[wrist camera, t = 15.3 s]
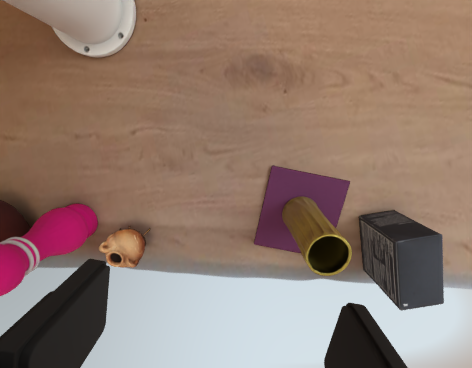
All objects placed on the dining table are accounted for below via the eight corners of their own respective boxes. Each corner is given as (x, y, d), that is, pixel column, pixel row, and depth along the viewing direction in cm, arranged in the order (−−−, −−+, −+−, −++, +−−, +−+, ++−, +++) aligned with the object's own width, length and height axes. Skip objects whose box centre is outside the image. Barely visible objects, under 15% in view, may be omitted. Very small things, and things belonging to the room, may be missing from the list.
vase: (280, 230, 43) (299, 279, 29) (283, 195, 42) (303, 229, 28) (316, 231, 43) (352, 280, 29) (320, 196, 42) (359, 231, 28)
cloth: (271, 165, 41) (272, 165, 41) (349, 181, 42) (350, 181, 41) (253, 243, 44) (254, 244, 44) (326, 257, 45) (326, 258, 44)
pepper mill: (68, 243, 45) (-65, 331, 26) (53, 205, 44) (-99, 268, 24) (106, 235, 45) (1, 319, 25) (92, 196, 43) (-31, 254, 24)
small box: (400, 265, 45) (447, 306, 34) (362, 270, 45) (398, 313, 35) (396, 208, 42) (446, 234, 32) (357, 215, 43) (394, 242, 33)
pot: (156, 248, 45) (148, 216, 43) (140, 278, 38) (129, 241, 36) (125, 252, 46) (115, 220, 44) (102, 282, 38) (89, 245, 36)
